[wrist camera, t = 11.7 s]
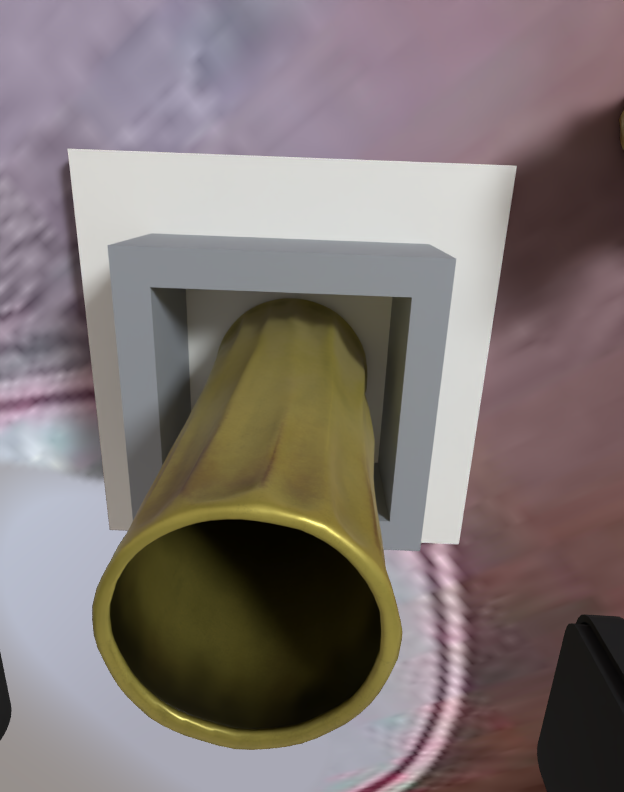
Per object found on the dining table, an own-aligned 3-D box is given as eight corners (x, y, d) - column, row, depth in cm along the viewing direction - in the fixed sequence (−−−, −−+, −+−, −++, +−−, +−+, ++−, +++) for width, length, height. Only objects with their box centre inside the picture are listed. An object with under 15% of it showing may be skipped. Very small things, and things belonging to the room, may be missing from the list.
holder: (508, 166, 21) (569, 160, 15) (453, 531, 26) (485, 615, 21) (79, 150, 21) (-2, 138, 16) (117, 517, 26) (67, 597, 21)
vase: (275, 465, 24) (215, 811, 11) (185, 352, 22) (-18, 599, 9) (395, 390, 23) (497, 680, 9) (310, 265, 21) (288, 401, 8)
